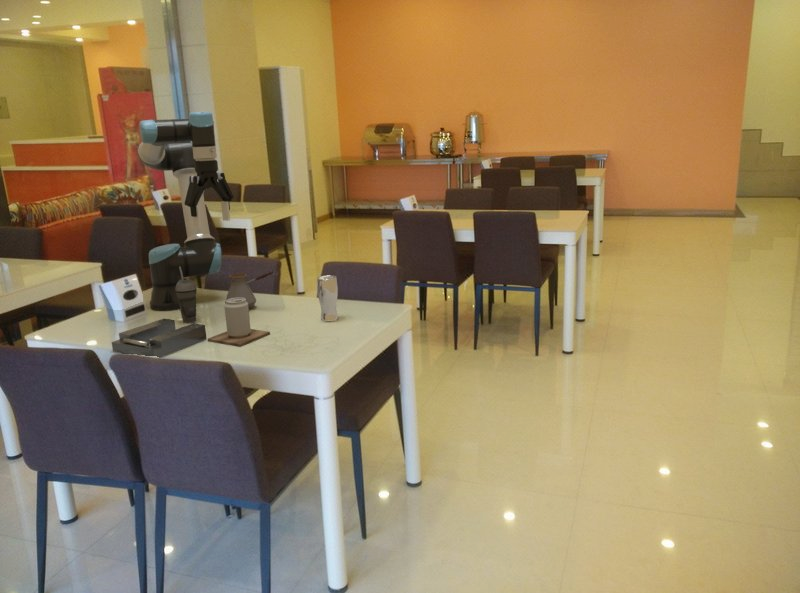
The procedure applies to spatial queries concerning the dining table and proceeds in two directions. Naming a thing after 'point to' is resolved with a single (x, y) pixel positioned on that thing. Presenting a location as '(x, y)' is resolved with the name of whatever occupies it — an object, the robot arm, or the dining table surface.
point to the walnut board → (228, 340)
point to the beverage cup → (186, 299)
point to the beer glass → (328, 297)
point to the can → (237, 317)
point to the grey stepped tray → (159, 338)
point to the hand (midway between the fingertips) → (212, 223)
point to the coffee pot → (243, 288)
